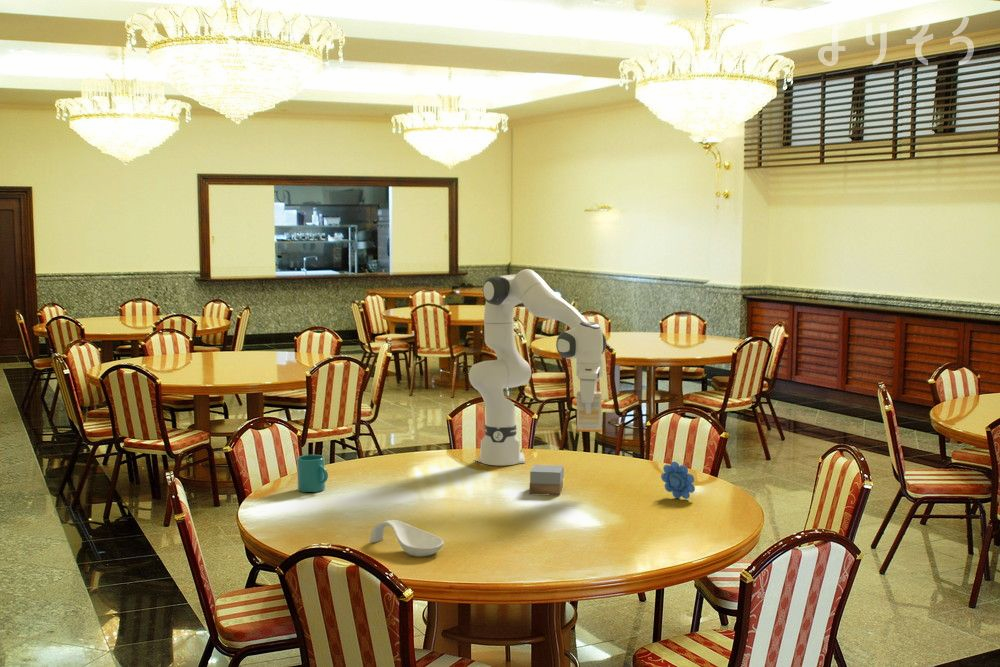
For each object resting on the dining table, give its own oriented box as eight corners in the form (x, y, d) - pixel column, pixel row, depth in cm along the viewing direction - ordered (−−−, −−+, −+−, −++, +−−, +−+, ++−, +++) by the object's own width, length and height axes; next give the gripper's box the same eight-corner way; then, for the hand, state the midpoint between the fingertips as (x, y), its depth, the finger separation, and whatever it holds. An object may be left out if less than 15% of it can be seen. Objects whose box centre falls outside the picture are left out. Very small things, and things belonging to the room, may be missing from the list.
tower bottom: (533, 488, 341) (533, 476, 341) (562, 489, 339) (562, 477, 339) (529, 495, 331) (529, 483, 331) (559, 496, 330) (559, 484, 329)
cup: (317, 496, 330) (316, 462, 329) (292, 491, 337) (291, 458, 336) (337, 490, 337) (336, 457, 336) (311, 485, 344) (311, 453, 343)
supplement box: (601, 429, 338) (602, 391, 337) (601, 432, 333) (601, 393, 332) (577, 429, 339) (577, 390, 338) (576, 431, 334) (576, 392, 333)
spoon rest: (452, 552, 270) (452, 526, 270) (423, 564, 261) (422, 537, 261) (389, 537, 285) (388, 512, 284) (359, 547, 276) (358, 521, 275)
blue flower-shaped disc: (655, 498, 325) (656, 462, 324) (663, 494, 331) (664, 458, 330) (689, 503, 319) (690, 466, 318) (697, 499, 324) (698, 462, 323)
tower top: (534, 476, 341) (534, 464, 341) (563, 477, 339) (563, 465, 339) (530, 483, 331) (530, 471, 331) (560, 484, 329) (560, 472, 329)
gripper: (582, 366, 345) (582, 406, 346) (577, 374, 325) (577, 416, 326) (600, 367, 344) (600, 406, 345) (597, 375, 324) (596, 417, 325)
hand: (589, 411), depth 336 cm, fingers closed on supplement box, 5 cm apart
